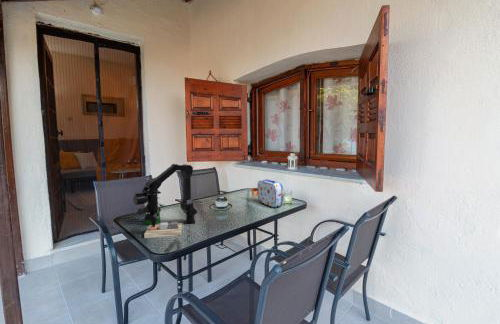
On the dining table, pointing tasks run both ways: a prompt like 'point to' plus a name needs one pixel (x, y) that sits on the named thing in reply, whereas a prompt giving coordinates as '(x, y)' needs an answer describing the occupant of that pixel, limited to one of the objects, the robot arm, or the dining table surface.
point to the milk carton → (149, 213)
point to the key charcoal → (174, 225)
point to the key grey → (164, 226)
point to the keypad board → (163, 232)
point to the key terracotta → (154, 228)
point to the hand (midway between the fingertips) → (153, 226)
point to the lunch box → (270, 193)
